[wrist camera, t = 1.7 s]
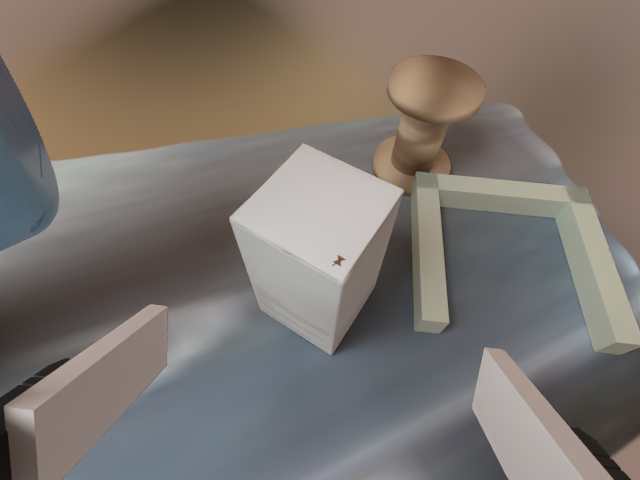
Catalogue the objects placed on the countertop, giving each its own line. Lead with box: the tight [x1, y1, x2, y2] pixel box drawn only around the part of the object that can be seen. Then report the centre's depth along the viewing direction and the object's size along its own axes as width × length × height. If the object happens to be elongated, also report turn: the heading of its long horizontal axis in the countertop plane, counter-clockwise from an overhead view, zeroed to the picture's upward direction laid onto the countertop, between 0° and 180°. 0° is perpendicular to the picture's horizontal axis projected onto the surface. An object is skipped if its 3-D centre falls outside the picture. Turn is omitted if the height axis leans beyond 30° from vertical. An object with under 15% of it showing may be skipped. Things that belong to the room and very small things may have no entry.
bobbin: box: [372, 55, 486, 196], centre depth 34 cm, size 8×8×10 cm
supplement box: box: [229, 143, 404, 355], centre depth 25 cm, size 7×7×13 cm
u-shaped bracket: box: [411, 172, 640, 355], centre depth 32 cm, size 16×15×2 cm
